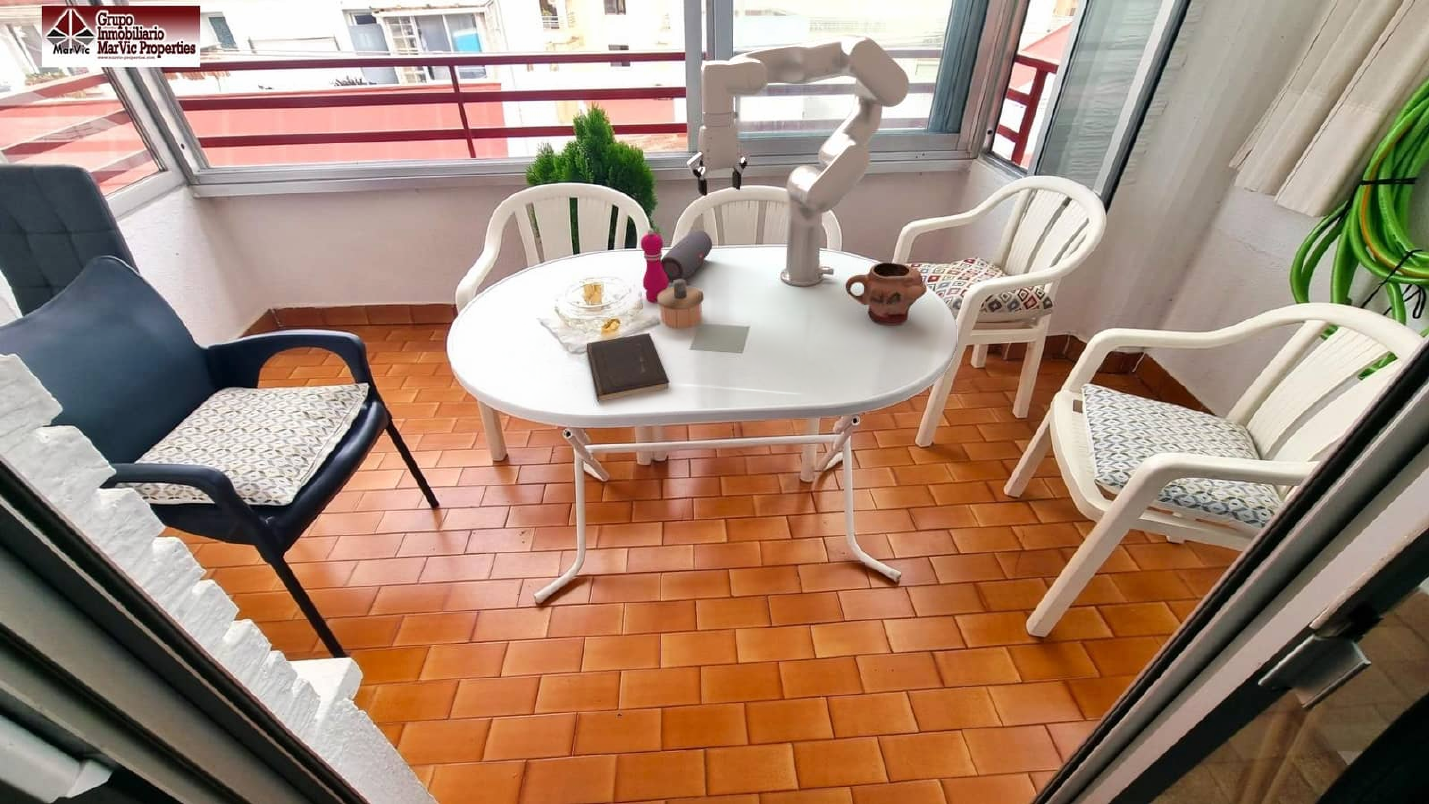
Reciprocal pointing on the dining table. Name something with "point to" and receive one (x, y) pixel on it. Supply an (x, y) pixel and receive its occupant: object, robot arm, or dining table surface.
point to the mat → (720, 338)
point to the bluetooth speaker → (686, 255)
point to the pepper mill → (653, 266)
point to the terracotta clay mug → (889, 291)
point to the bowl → (681, 316)
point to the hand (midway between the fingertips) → (720, 191)
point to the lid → (680, 296)
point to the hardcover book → (626, 366)
